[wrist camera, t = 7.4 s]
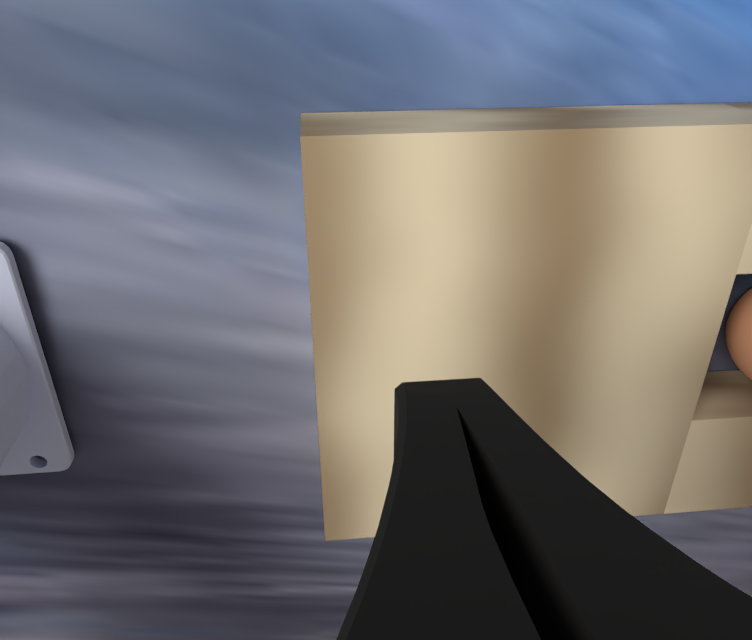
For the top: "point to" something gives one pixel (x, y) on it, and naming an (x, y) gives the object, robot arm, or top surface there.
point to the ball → (741, 333)
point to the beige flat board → (534, 289)
